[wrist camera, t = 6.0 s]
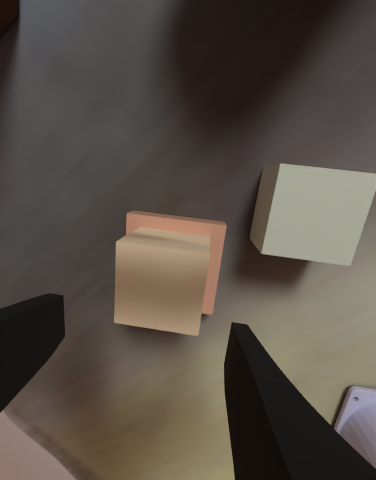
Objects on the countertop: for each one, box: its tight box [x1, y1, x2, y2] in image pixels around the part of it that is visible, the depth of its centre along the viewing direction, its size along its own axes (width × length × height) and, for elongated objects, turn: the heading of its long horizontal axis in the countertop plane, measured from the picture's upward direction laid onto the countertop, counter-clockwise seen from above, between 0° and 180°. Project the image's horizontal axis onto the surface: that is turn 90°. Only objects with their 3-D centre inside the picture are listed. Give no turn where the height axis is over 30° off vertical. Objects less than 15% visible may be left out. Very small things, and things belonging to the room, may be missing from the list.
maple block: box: [114, 227, 210, 336], centre depth 14 cm, size 5×5×4 cm
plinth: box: [126, 211, 227, 315], centre depth 16 cm, size 7×7×2 cm
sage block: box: [249, 164, 376, 266], centre depth 14 cm, size 5×5×4 cm
